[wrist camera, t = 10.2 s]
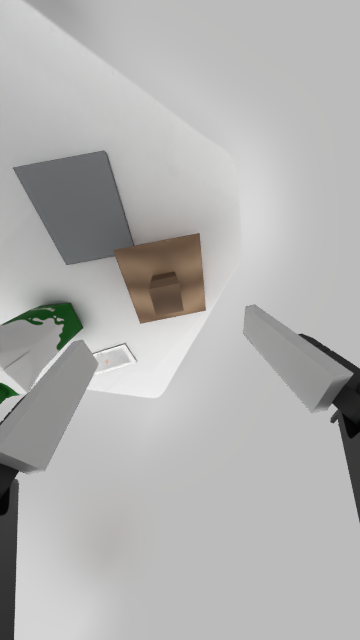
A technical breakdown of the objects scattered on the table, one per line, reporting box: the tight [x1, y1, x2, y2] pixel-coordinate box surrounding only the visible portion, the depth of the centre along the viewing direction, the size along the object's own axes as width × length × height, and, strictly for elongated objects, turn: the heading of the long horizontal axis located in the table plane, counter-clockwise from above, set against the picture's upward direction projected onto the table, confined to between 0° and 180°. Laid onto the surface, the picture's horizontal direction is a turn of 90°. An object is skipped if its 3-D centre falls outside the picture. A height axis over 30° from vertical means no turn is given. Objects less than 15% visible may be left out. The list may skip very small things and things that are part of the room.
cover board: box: [113, 233, 206, 324], centre depth 23 cm, size 14×14×9 cm
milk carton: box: [0, 303, 83, 404], centre depth 26 cm, size 9×9×20 cm
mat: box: [13, 151, 134, 265], centre depth 25 cm, size 14×14×1 cm
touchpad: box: [93, 344, 137, 376], centre depth 42 cm, size 8×15×2 cm, turn 107°
